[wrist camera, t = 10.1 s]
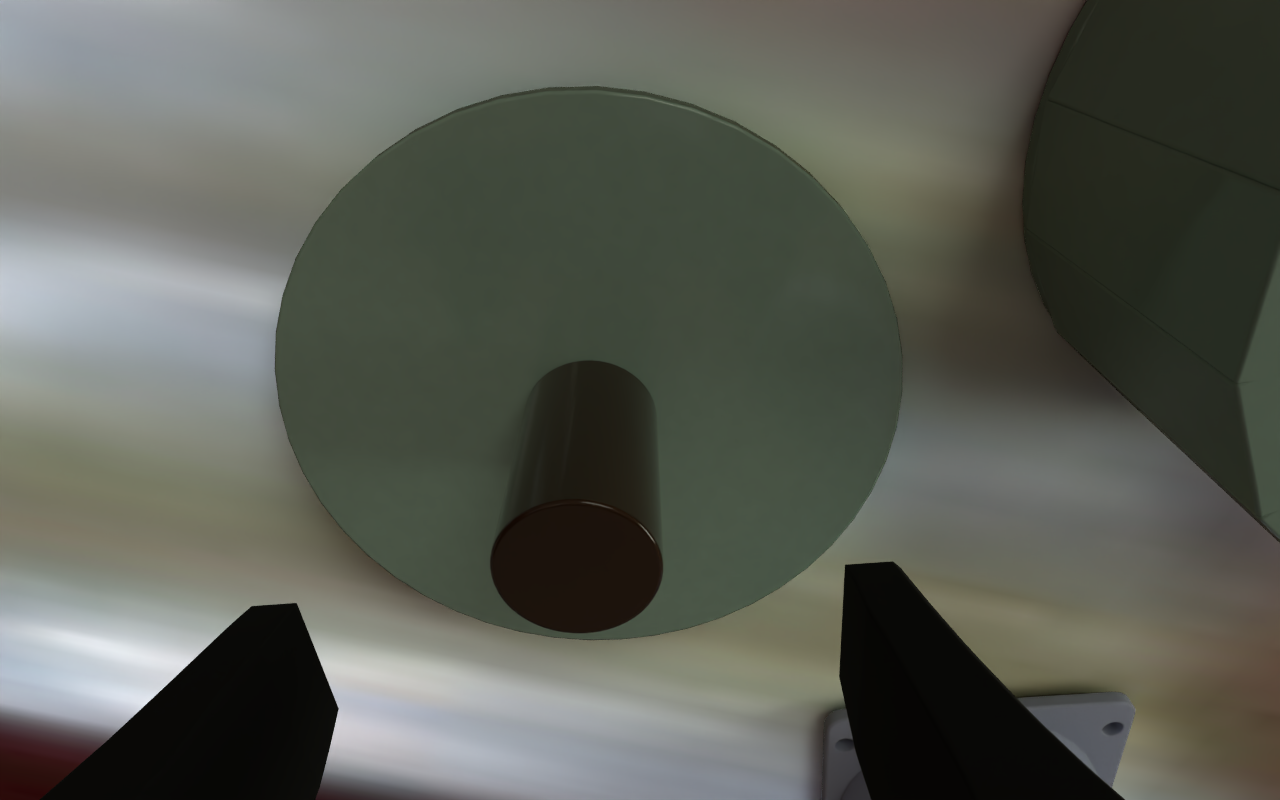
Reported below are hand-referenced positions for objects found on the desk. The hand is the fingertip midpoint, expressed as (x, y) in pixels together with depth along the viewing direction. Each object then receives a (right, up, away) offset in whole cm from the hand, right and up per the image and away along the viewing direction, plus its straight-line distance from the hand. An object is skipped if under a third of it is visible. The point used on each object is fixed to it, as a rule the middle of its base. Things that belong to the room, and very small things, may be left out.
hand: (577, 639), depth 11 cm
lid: (0, +3, +6) cm, 6 cm away
